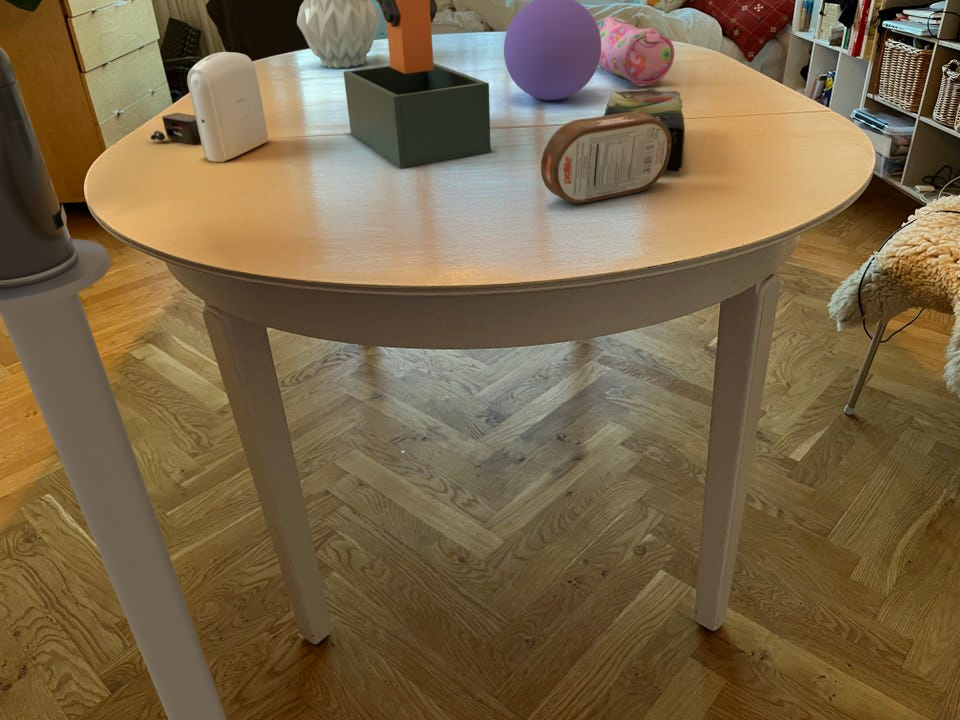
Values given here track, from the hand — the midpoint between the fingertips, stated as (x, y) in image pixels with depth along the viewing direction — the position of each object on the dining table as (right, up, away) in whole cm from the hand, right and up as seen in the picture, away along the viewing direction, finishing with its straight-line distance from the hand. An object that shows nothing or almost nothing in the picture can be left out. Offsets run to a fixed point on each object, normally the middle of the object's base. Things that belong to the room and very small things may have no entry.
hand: (413, 19), depth 93 cm
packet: (-1, -4, +5) cm, 6 cm away
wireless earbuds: (-34, -11, +15) cm, 39 cm away
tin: (+22, -24, -11) cm, 34 cm away
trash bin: (0, -12, +10) cm, 16 cm away
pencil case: (+34, +8, +41) cm, 54 cm away
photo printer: (-24, -14, +9) cm, 30 cm away
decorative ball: (+20, 0, +29) cm, 35 cm away
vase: (-19, +18, +60) cm, 66 cm away
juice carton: (+28, -16, +3) cm, 33 cm away
